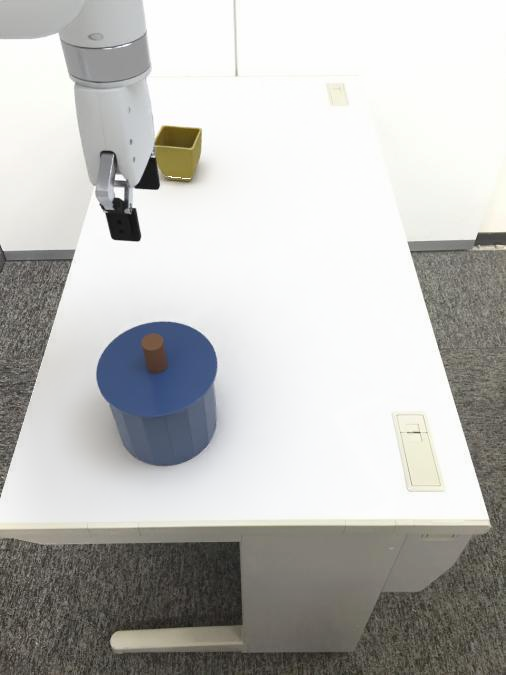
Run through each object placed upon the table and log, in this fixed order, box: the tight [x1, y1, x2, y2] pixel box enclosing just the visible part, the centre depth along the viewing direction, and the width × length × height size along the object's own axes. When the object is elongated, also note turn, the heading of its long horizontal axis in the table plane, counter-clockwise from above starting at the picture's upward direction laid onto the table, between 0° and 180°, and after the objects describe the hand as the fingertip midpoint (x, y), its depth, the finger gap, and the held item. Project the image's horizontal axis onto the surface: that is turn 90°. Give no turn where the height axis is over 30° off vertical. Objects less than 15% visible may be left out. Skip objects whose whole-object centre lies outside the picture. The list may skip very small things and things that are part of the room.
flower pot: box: [154, 124, 203, 182], centre depth 113 cm, size 9×9×9 cm
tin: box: [108, 382, 217, 467], centre depth 71 cm, size 14×14×12 cm
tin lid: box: [95, 320, 218, 419], centre depth 64 cm, size 15×15×6 cm
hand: (137, 212), depth 61 cm, fingers open, 9 cm apart
